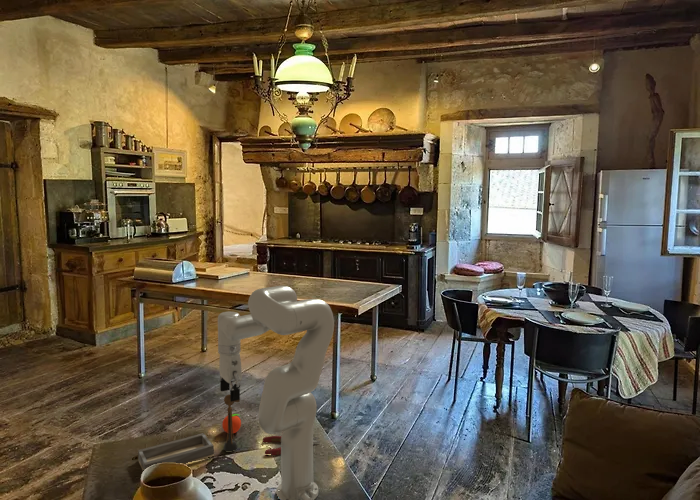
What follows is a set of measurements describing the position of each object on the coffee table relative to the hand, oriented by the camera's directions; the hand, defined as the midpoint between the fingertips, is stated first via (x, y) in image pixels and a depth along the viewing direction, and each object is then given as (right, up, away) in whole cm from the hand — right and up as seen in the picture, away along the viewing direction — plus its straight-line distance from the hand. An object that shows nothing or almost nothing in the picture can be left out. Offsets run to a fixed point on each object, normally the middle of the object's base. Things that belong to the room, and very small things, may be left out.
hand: (229, 395), depth 172 cm
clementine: (-2, -18, +14) cm, 24 cm away
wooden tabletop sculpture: (0, -20, +2) cm, 20 cm away
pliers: (+20, -20, +3) cm, 29 cm away
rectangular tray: (-17, -20, -5) cm, 27 cm away
